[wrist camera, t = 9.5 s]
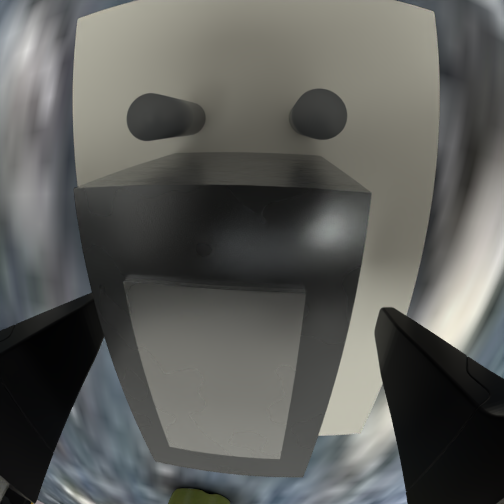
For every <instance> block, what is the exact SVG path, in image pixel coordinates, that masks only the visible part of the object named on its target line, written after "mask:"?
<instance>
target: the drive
mask: <svg viewBox="0 0 504 504" xmlns="http://www.w3.org/2000/svg"><path fill="white" fill-rule="evenodd" d="M371 195H372V193H371V192H370V191H369V190H367V189H366V188H365V187H363V186H362V185H361V184H359V183H358V182H357V181H355V180H354V179H353V178H351V177H350V176H348V175H347V174H346V173H344V172H343V171H341V170H340V169H339V168H337V167H336V166H334V165H333V164H332V163H330V162H329V161H327V160H326V159H324V158H323V157H321V156H316V155H300V154H281V153H251V152H196V153H174V154H171V155H168V156H164V157H161V158H158V159H154V160H151V161H148V162H145V163H142V164H139V165H136V166H133V167H130V168H127V169H124V170H121V171H118V172H116V173H113V174H110V175H107V176H104V177H102V178H99V179H96V180H94V181H91V182H89V183H86V184H83V185H81V186H78V187H76V188H74V197H75V205H76V212H77V219H78V225H79V231H80V237H81V243H82V248H83V253H84V258H85V263H86V268H87V273H88V277H89V281H90V286H91V290H92V294H93V298H94V302H95V305H96V309H97V313H98V316H99V320H100V323H101V327H102V330H103V334H104V337H105V340H106V343H107V346H108V349H109V352H110V355H111V358H112V361H113V364H114V367H115V370H116V373H117V375H118V378H119V381H120V383H121V386H122V389H123V391H124V394H125V396H126V399H127V401H128V404H129V406H130V409H131V411H132V413H133V416H134V418H135V420H136V422H137V425H138V427H139V429H140V431H141V433H142V436H143V438H144V440H145V442H146V444H147V446H148V448H149V450H150V452H151V454H152V456H153V458H154V460H155V461H157V462H161V463H166V464H171V465H176V466H181V467H186V468H192V469H198V470H205V471H212V472H220V473H228V474H238V475H250V476H266V477H303V476H304V473H305V471H306V468H307V465H308V463H309V460H310V457H311V455H312V452H313V449H314V446H315V443H316V440H317V438H318V435H319V432H320V429H321V426H322V423H323V420H324V416H325V413H326V410H327V407H328V404H329V400H330V397H331V394H332V390H333V387H334V383H335V380H336V376H337V373H338V369H339V365H340V361H341V358H342V354H343V350H344V346H345V342H346V338H347V333H348V329H349V325H350V320H351V316H352V311H353V306H354V302H355V297H356V292H357V287H358V281H359V276H360V271H361V265H362V259H363V253H364V247H365V240H366V234H367V227H368V219H369V212H370V204H371Z"/></svg>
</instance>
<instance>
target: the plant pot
mask: <svg viewBox="0 0 504 504" xmlns="http://www.w3.org/2000/svg"><path fill="white" fill-rule="evenodd" d="M168 504H230V501H229V500H228V499H226V498H225V497H223V496H221V495H218V494H207V493H205V492H203V491H202V490H198V489H188V488H181V489H176V490H175V491H174V492H173V494H172V496H171V498H170V500H169V503H168Z"/></svg>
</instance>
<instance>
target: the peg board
mask: <svg viewBox="0 0 504 504" xmlns="http://www.w3.org/2000/svg"><path fill="white" fill-rule="evenodd" d="M439 112H440V80H439V57H438V43H437V32H436V23H435V15H434V12H433V11H430V10H427V9H424V8H421V7H418V6H414V5H411V4H407V3H403V2H399V1H395V0H138V1H134V2H130V3H126V4H122V5H119V6H115V7H112V8H108V9H105V10H102V11H99V12H96V13H93V14H90V15H87V16H84V17H82V18H79V19H78V22H77V31H76V41H75V53H74V69H73V134H74V151H75V164H76V175H77V185H78V186H81V185H83V184H86V183H89V182H91V181H94V180H96V179H99V178H102V177H104V176H107V175H110V174H113V173H116V172H118V171H121V170H124V169H127V168H130V167H133V166H136V165H139V164H142V163H145V162H148V161H151V160H154V159H158V158H161V157H164V156H168V155H171V154H174V153H196V152H251V153H281V154H300V155H316V156H321V157H323V158H324V159H326V160H327V161H329V162H330V163H332V164H333V165H334V166H336V167H337V168H339V169H340V170H341V171H343V172H344V173H346V174H347V175H348V176H350V177H351V178H353V179H354V180H355V181H357V182H358V183H359V184H361V185H362V186H363V187H365V188H366V189H367V190H369V191H370V192H371V193H372V195H371V204H370V212H369V219H368V227H367V234H366V240H365V247H364V253H363V259H362V265H361V271H360V276H359V281H358V287H357V292H356V297H355V302H354V306H353V311H352V316H351V320H350V325H349V329H348V333H347V338H346V342H345V346H344V350H343V354H342V358H341V361H340V365H339V369H338V373H337V376H336V380H335V383H334V387H333V390H332V394H331V397H330V400H329V404H328V407H327V410H326V413H325V416H324V420H323V423H322V426H321V429H320V432H319V435H318V436H323V435H345V434H359V433H361V431H362V429H363V427H364V425H365V423H366V420H367V418H368V416H369V414H370V412H371V409H372V407H373V405H374V403H375V400H376V398H377V396H378V393H379V391H380V388H381V386H382V384H383V382H382V378H381V374H380V368H379V361H378V354H377V348H376V342H375V336H374V330H375V326H376V322H377V318H378V314H379V311H380V309H381V308H382V307H393V308H395V309H397V310H398V311H400V312H401V313H403V314H404V315H407V312H408V308H409V305H410V301H411V298H412V294H413V290H414V286H415V283H416V279H417V275H418V270H419V266H420V262H421V257H422V253H423V248H424V243H425V238H426V233H427V228H428V222H429V216H430V210H431V203H432V197H433V189H434V181H435V172H436V162H437V151H438V136H439Z"/></svg>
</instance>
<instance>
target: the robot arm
mask: <svg viewBox="0 0 504 504" xmlns="http://www.w3.org/2000/svg"><path fill="white" fill-rule="evenodd" d="M374 336H375V342H376V348H377V354H378V361H379V368H380V374H381V378H382V382H383V386H384V390H385V394H386V398H387V402H388V406H389V410H390V414H391V418H392V423H393V427H394V432H395V436H396V441H397V446H398V450H399V455H400V461H401V466H402V471H403V477H404V483H405V489H406V491H407V492H406V496H407V503H408V504H504V379H503V378H501V377H500V376H498V375H496V374H495V373H493V372H491V371H490V370H488V369H486V368H485V367H483V366H482V365H480V364H479V363H477V362H476V361H474V360H473V359H471V358H470V357H467V355H465V354H464V353H462V352H461V351H459V350H458V349H456V348H455V347H453V346H452V345H450V344H449V343H447V342H446V341H444V340H443V339H441V338H440V337H438V336H437V335H435V334H434V333H432V332H431V331H429V330H428V329H426V328H424V327H423V326H421V325H420V324H418V323H417V322H415V321H414V320H412V319H411V318H409V317H408V316H406V315H404V314H403V313H401V312H400V311H398V310H397V309H395V308H393V307H382V308H381V309H380V311H379V314H378V318H377V322H376V326H375V330H374ZM103 338H104V334H103V330H102V327H101V323H100V320H99V316H98V313H97V309H96V305H95V302H94V298H93V294H92V293H90V294H87V295H85V296H82V297H80V298H77V299H75V300H73V301H70V302H68V303H65V304H63V305H60V306H58V307H56V308H53V309H51V310H48V311H46V312H44V313H41V314H39V315H36V316H34V317H32V318H29V319H27V320H25V321H22V322H20V323H18V324H16V325H13V326H11V327H8V328H6V329H3V330H1V331H0V504H31V502H32V503H34V504H35V503H36V501H37V499H38V495H39V492H40V489H41V486H42V483H43V481H44V478H45V475H46V472H47V469H48V467H49V464H50V461H51V458H52V456H53V452H54V450H55V448H56V445H57V443H58V440H59V438H60V435H61V433H62V430H63V428H64V426H65V423H66V421H67V418H68V416H69V414H70V412H71V409H72V407H73V405H74V402H75V400H76V398H77V396H78V394H79V391H80V389H81V387H82V385H83V383H84V381H85V379H86V376H87V374H88V372H89V370H90V368H91V366H92V364H93V362H94V360H95V358H96V356H97V354H98V351H99V349H100V346H101V343H102V341H103Z"/></svg>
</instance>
